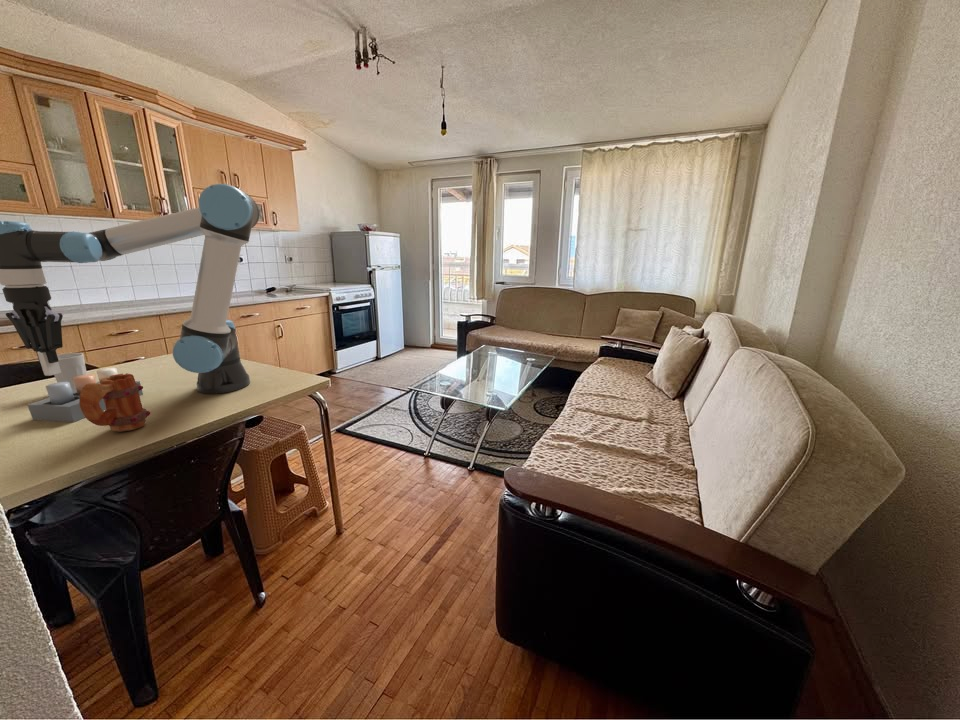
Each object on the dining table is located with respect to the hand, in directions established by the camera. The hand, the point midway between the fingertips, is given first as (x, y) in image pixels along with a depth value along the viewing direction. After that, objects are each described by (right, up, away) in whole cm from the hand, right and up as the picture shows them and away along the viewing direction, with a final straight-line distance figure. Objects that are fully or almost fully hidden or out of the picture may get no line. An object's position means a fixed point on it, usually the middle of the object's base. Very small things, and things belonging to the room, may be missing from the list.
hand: (53, 373), depth 100 cm
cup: (-16, -7, +20) cm, 27 cm away
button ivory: (+1, -4, +15) cm, 15 cm away
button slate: (0, -8, +2) cm, 8 cm away
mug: (+23, -15, -5) cm, 28 cm away
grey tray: (0, -10, +10) cm, 14 cm away
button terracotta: (0, -6, +9) cm, 10 cm away
